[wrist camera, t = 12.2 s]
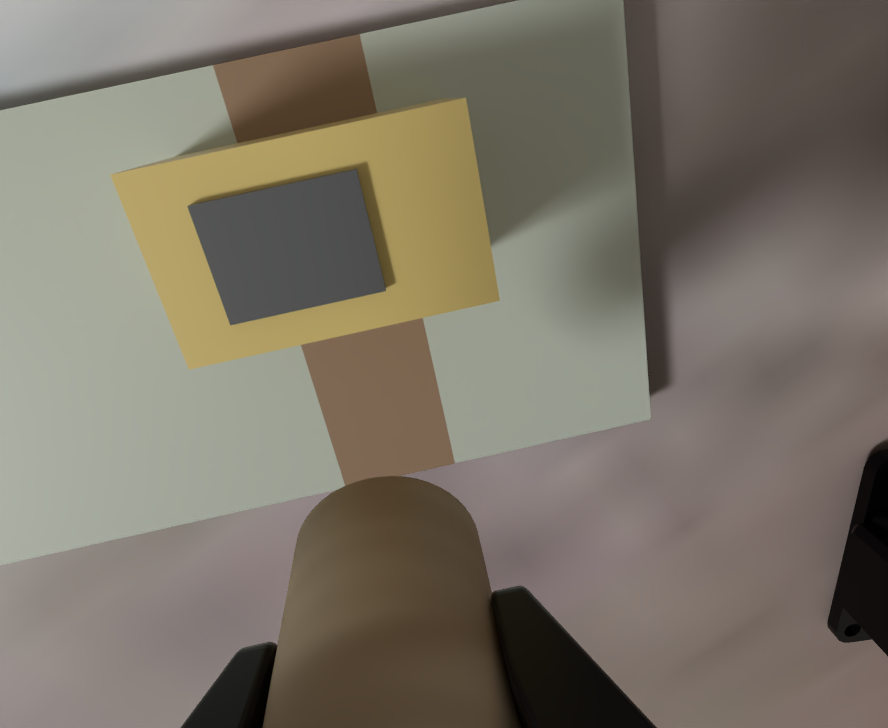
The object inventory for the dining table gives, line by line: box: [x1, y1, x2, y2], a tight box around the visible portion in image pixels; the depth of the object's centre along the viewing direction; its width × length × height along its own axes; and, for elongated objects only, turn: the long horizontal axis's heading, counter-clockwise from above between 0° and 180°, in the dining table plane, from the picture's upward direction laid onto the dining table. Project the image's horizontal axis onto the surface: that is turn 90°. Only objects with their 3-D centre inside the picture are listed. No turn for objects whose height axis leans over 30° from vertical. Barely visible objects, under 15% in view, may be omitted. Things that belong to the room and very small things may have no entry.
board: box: [0, 0, 651, 565], centre depth 13 cm, size 18×9×1 cm, turn 101°
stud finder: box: [110, 98, 500, 370], centre depth 10 cm, size 5×3×3 cm, turn 101°
